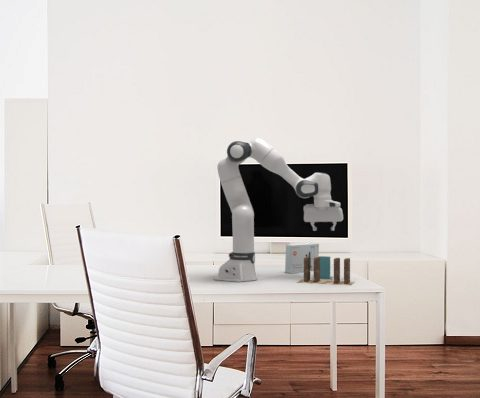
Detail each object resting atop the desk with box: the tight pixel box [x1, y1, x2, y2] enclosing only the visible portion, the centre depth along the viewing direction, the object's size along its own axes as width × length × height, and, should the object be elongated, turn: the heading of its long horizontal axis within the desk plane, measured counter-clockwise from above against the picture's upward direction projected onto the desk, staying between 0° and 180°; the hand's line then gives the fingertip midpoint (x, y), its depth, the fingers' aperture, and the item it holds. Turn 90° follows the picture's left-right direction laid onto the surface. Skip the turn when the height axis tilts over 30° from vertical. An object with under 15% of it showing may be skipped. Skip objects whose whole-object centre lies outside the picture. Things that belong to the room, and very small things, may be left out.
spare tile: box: [318, 255, 331, 280], centre depth 329 cm, size 2×6×12 cm, turn 71°
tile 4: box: [313, 257, 321, 283], centre depth 317 cm, size 2×6×12 cm, turn 161°
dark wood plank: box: [303, 257, 311, 282], centre depth 319 cm, size 2×6×12 cm, turn 161°
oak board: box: [296, 278, 355, 286], centre depth 316 cm, size 27×12×1 cm, turn 71°
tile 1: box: [343, 257, 351, 284], centre depth 312 cm, size 2×6×12 cm, turn 161°
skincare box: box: [284, 242, 320, 274], centre depth 360 cm, size 21×5×16 cm, turn 126°
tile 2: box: [333, 257, 341, 284], centre depth 314 cm, size 2×6×12 cm, turn 161°
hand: (323, 230), depth 328 cm, fingers open, 8 cm apart
